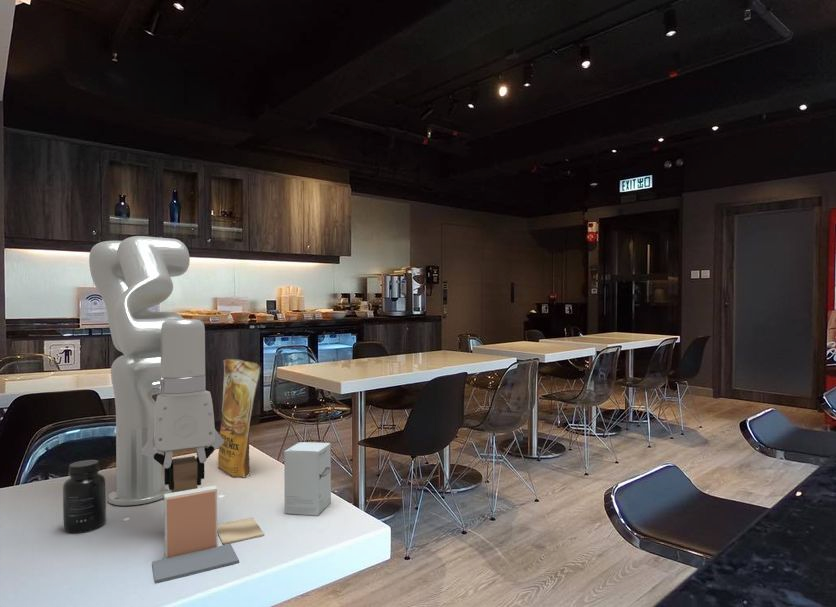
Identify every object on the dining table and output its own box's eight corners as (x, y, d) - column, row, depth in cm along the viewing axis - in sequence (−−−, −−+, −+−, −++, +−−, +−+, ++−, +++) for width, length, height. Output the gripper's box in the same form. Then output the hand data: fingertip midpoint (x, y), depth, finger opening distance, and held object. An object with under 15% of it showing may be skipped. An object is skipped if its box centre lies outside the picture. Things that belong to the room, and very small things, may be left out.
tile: (164, 554, 87) (164, 494, 87) (215, 543, 91) (215, 485, 91) (165, 560, 85) (165, 498, 85) (217, 548, 89) (217, 489, 89)
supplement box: (318, 516, 102) (317, 451, 102) (283, 514, 104) (282, 450, 104) (332, 502, 109) (331, 442, 110) (299, 500, 111) (298, 441, 111)
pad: (214, 526, 98) (214, 525, 98) (252, 518, 101) (252, 517, 101) (223, 544, 90) (223, 543, 90) (264, 535, 94) (264, 533, 94)
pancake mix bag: (236, 459, 143) (235, 357, 144) (264, 475, 128) (263, 361, 129) (211, 464, 139) (210, 358, 139) (236, 481, 124) (235, 363, 125)
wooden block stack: (165, 492, 97) (165, 460, 97) (200, 486, 100) (200, 455, 100) (170, 512, 88) (170, 477, 88) (208, 504, 92) (208, 470, 91)
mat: (152, 564, 83) (152, 561, 83) (230, 546, 90) (230, 543, 90) (155, 583, 77) (155, 580, 77) (239, 562, 83) (239, 560, 83)
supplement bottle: (67, 523, 101) (67, 460, 101) (108, 517, 103) (108, 456, 104) (59, 537, 94) (58, 470, 95) (102, 530, 97) (102, 465, 97)
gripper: (133, 392, 89) (133, 500, 89) (234, 384, 98) (236, 482, 97) (131, 387, 96) (132, 488, 95) (227, 380, 104) (228, 472, 104)
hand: (184, 484), depth 96 cm, fingers closed on wooden block stack, 3 cm apart
